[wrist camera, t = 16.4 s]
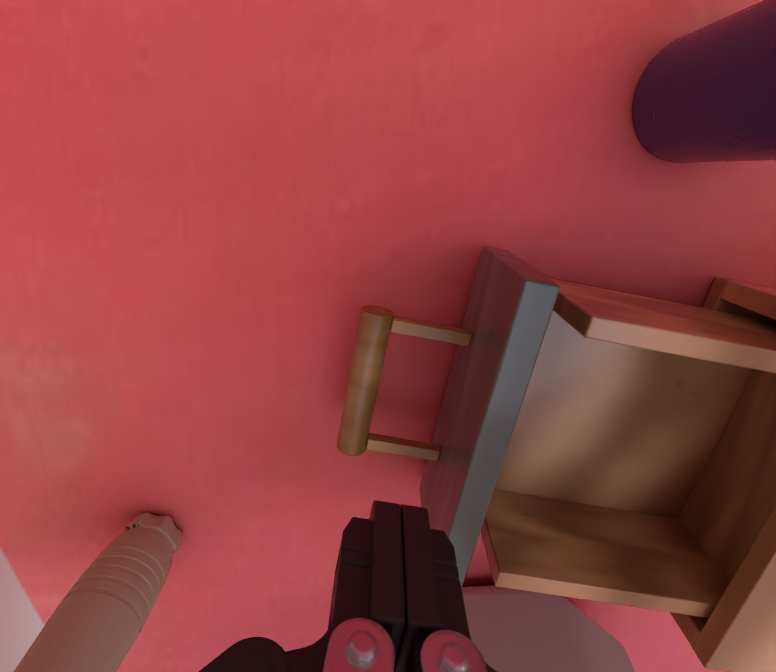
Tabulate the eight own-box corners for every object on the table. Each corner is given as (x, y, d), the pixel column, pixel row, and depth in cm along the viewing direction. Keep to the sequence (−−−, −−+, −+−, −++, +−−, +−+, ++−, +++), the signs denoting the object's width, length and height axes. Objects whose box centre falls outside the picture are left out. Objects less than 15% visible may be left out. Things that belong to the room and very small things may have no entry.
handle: (88, 515, 27) (-235, 887, 13) (184, 483, 26) (-51, 842, 12) (132, 573, 29) (-116, 962, 15) (223, 545, 28) (54, 927, 14)
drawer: (331, 474, 25) (311, 580, 19) (376, 224, 21) (371, 249, 14) (667, 528, 26) (758, 645, 20) (780, 304, 22) (946, 360, 15)
